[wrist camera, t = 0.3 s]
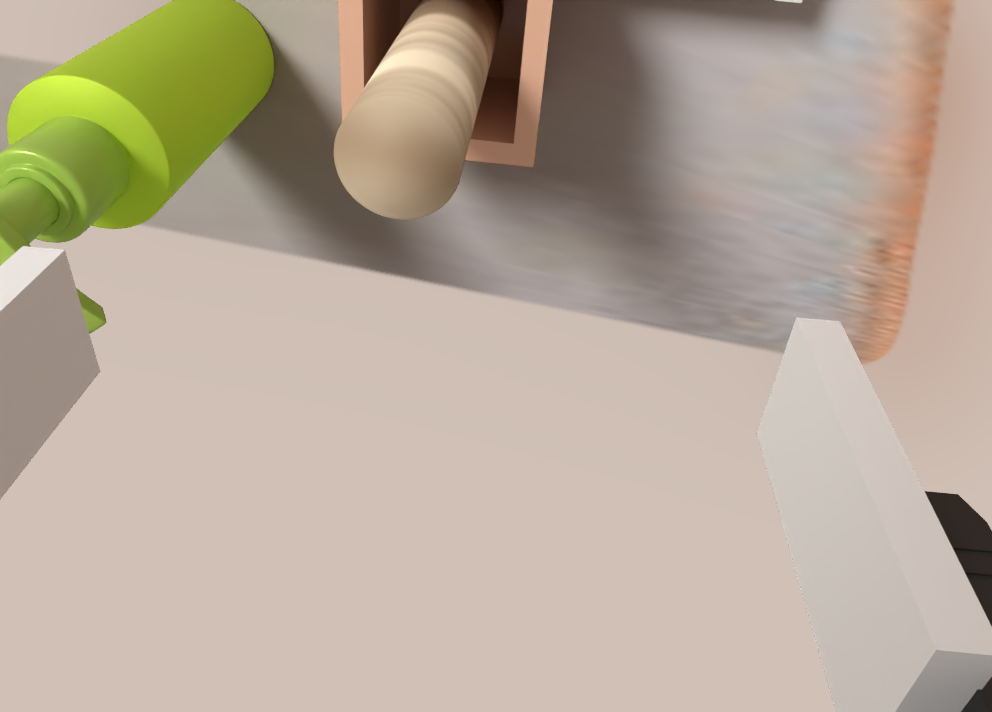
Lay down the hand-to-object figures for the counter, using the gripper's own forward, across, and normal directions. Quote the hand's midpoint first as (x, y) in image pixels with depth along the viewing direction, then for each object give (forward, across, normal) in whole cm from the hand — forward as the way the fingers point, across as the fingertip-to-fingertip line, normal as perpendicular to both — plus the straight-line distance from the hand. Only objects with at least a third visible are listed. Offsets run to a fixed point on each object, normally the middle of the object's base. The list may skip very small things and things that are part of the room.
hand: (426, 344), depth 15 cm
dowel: (+27, -2, 0) cm, 27 cm away
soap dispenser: (+28, -14, -4) cm, 32 cm away
